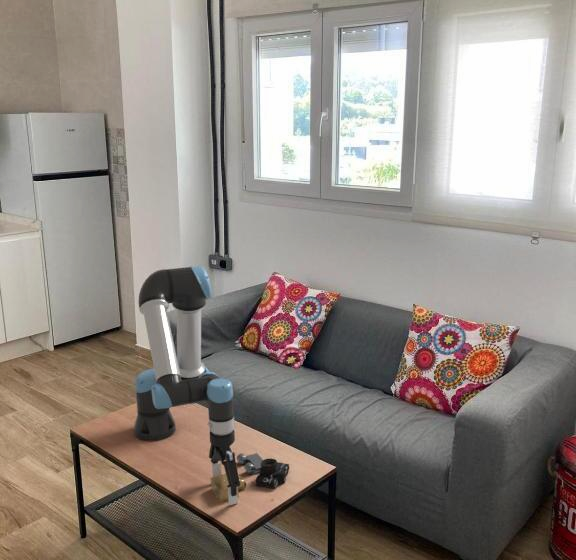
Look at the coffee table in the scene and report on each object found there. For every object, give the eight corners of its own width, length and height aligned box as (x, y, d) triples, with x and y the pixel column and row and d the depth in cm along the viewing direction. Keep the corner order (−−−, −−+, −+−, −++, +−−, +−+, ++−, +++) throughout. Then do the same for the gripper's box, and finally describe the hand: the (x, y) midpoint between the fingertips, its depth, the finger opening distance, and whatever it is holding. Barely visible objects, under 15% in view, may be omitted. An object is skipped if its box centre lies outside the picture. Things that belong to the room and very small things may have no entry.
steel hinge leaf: (257, 457, 219) (256, 449, 219) (268, 469, 211) (268, 461, 211) (236, 462, 216) (236, 454, 216) (247, 475, 208) (247, 467, 208)
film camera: (269, 449, 214) (293, 450, 208) (275, 469, 215) (299, 471, 209) (244, 468, 204) (268, 470, 197) (251, 490, 205) (274, 493, 198)
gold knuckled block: (240, 480, 206) (239, 469, 205) (250, 493, 199) (249, 481, 198) (211, 489, 201) (210, 477, 200) (220, 502, 194) (219, 490, 193)
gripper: (196, 416, 203) (200, 476, 208) (225, 451, 181) (228, 517, 186) (219, 411, 206) (222, 470, 211) (249, 444, 184) (252, 510, 190)
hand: (225, 492), depth 199 cm, fingers open, 13 cm apart
